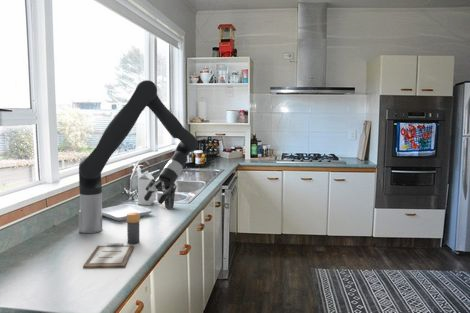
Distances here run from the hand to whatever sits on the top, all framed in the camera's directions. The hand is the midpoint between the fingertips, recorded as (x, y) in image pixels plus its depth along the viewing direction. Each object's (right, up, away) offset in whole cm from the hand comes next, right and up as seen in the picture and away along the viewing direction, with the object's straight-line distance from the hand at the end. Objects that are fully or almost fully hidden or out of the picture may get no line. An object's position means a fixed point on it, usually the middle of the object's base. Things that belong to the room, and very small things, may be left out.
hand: (152, 201), depth 166 cm
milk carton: (-16, -8, +58) cm, 61 cm away
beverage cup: (-1, -10, +50) cm, 50 cm away
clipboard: (-11, -18, -23) cm, 31 cm away
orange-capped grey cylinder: (-6, -16, -7) cm, 19 cm away
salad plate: (-22, -12, +32) cm, 41 cm away
